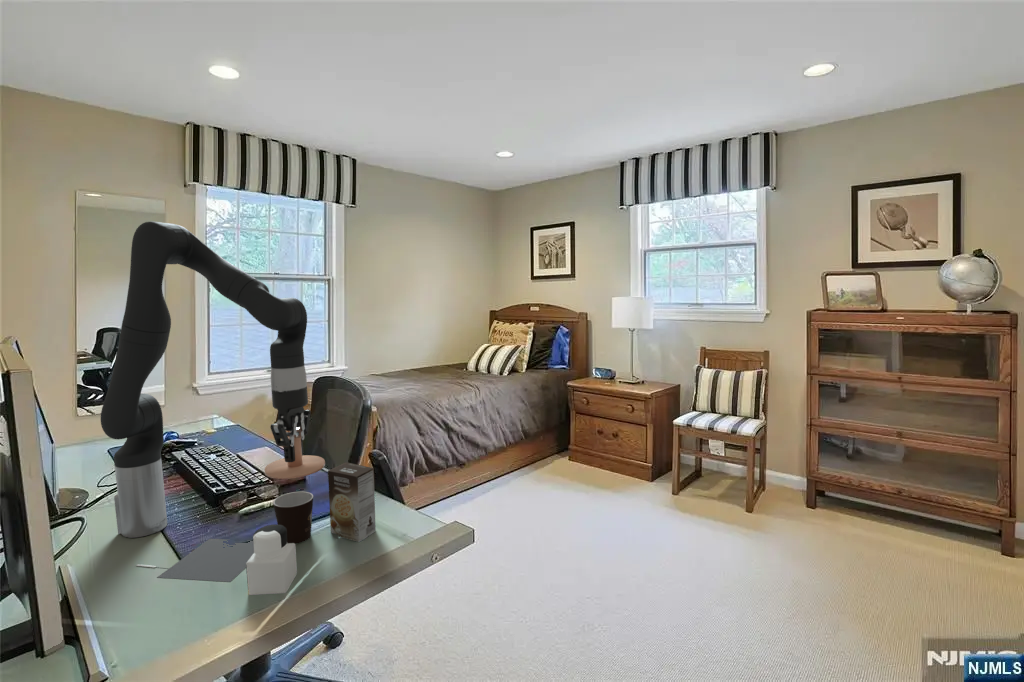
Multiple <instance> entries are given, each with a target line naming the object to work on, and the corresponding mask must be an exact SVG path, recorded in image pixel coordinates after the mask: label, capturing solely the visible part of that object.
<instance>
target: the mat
mask: <svg viewBox="0 0 1024 682" xmlns="http://www.w3.org/2000/svg"><path fill="white" fill-rule="evenodd" d="M227 540H228V539H223V538H222V539H221V538H209V539H207V540H206V541H205V542H203V543H201V544H200V545H199V546H198V547H196V548H195V549H194V550H192V551H191V552H190V553H188V554H187V555H186V556H184V557H183V558H181V559H180V560H178V562H176V563H175V564H173V565H172V566H170V567H169V568H168V569H166V570H165V571H164V572H163V573H161V574H160V575H158V576H157V577H156V578H157V579H172V580H173V579H174V580H175V579H176V580H189V581H208V582H223V583H231V582H232V581H233V580H234V579H235V578H237V577H238V576H239V575H240V574H241V573H242V572H243V571H245V569H246V563H247V561H248V560H249V559H250V557H251V556H252V555H253V554H254V542H253V540H249V541H250V542H248V543H235V544H236V545H229V544H226V543H223V541H227ZM227 542H228V541H227ZM223 544H224V545H223ZM227 545H228V546H233V547H228V546H227ZM223 547H225V548H223Z"/></svg>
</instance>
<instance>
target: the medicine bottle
mask: <svg viewBox="0 0 1024 682" xmlns="http://www.w3.org/2000/svg"><path fill="white" fill-rule="evenodd" d="M252 539H253V540H252V541H253V542H254V554H253V555H252V556H251V557H250V559H249V560H248V561H247V563H246V568H245V569H246V570H245V571H246V579H247V594H248V596H255V595H272V594H286V593H288V590H289V588H290V587H291V585H292V583H293V581H294V580H295V578H296V576H297V575H298V568H297V567H298V565H297V563H298V562H297V550H296V549H297V548H296V544H295V543H287V529H286V527H284V526H283V525H278V524H268V525H265V526H262V527H260V528H258V529H257V530H256V531H254V533H253V535H252Z"/></svg>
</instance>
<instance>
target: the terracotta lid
mask: <svg viewBox="0 0 1024 682" xmlns="http://www.w3.org/2000/svg"><path fill="white" fill-rule="evenodd" d="M288 439H289V440H290V437H289V436H288ZM294 447H295V461H294V462H285V459H284V458H280V459H278V460H275V461H272V462H270V463H269V464H266V466H265V467H264V475H265V476H266V477H268V478H271V479H274V480H275V479H277V480H287V479H295V478H296V479H297V478H302V477H306V476H309V475H313V474H316V473H318V472H319V471H320V472H321V470H322V469H324V468H325V466H326V461H325V458H323V457H321V456H319V455H308V454H306V455H304V454H303V456H302V447H301V436H294Z"/></svg>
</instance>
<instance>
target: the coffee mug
mask: <svg viewBox="0 0 1024 682" xmlns="http://www.w3.org/2000/svg"><path fill="white" fill-rule="evenodd" d="M313 502H314V494H313V493H311V492H309V491H293V492H288V493H284V494H282V495H279V496H277V497H276V498H274V499H273V503H272V505H273V508H274V514H275V519H276V523H277V525H283V526H284V527H286V529H287V543H295V545H298V544H302V543H304V542H306V541H307V540H309V539H310V538H311V535H312V521H313V519H312V518H313V506H314V503H313Z"/></svg>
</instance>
